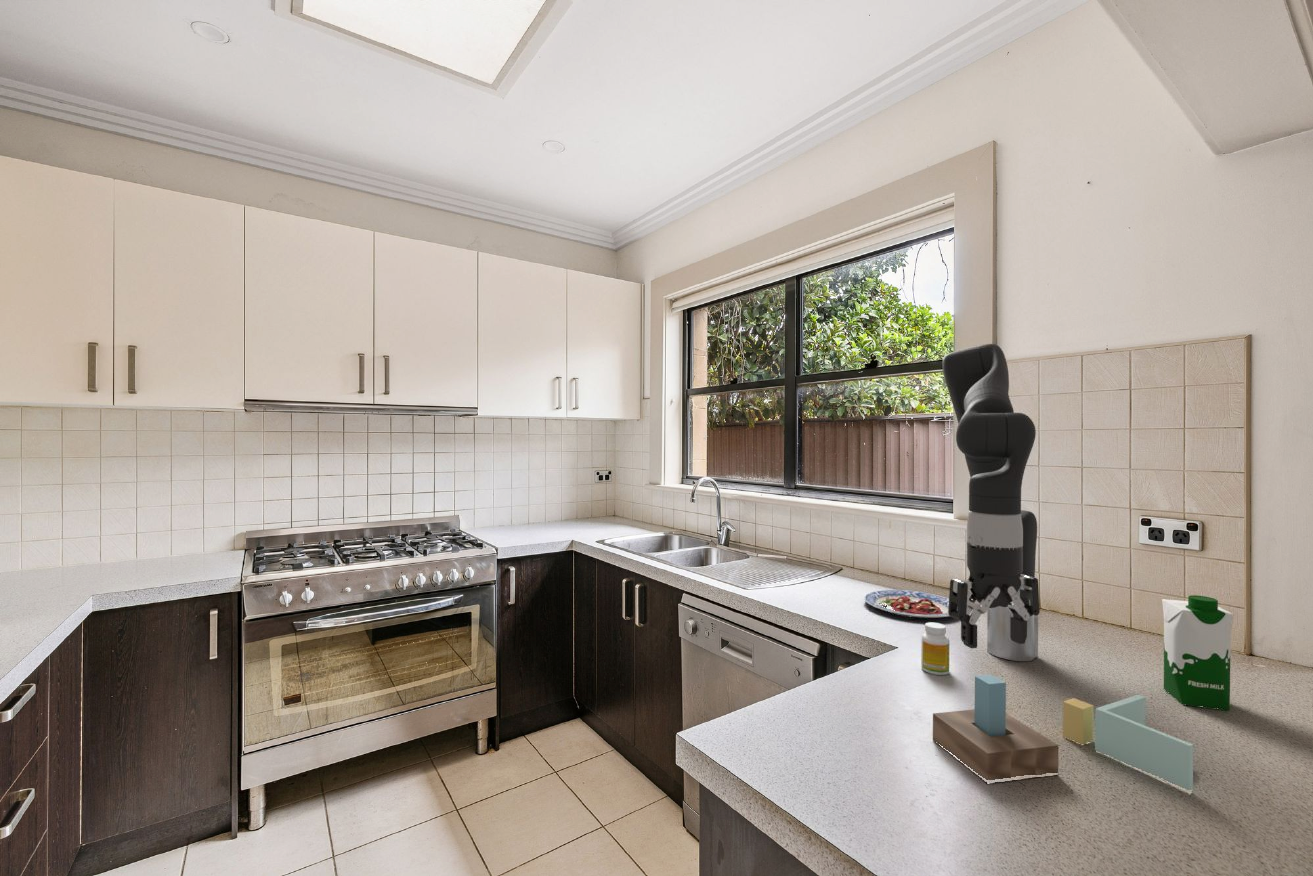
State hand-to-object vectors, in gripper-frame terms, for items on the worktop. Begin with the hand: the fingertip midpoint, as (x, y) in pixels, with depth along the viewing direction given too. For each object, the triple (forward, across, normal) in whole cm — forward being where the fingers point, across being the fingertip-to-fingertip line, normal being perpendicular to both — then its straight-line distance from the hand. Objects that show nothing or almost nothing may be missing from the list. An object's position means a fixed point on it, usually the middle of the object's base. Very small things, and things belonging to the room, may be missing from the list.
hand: (993, 644), depth 90 cm
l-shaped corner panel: (+19, -24, +6) cm, 31 cm away
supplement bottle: (+18, -13, -31) cm, 38 cm away
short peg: (+18, -18, -2) cm, 25 cm away
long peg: (+18, 0, -1) cm, 18 cm away
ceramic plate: (+19, -35, -71) cm, 81 cm away
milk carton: (+18, -53, -10) cm, 57 cm away
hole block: (+18, 0, 0) cm, 18 cm away
